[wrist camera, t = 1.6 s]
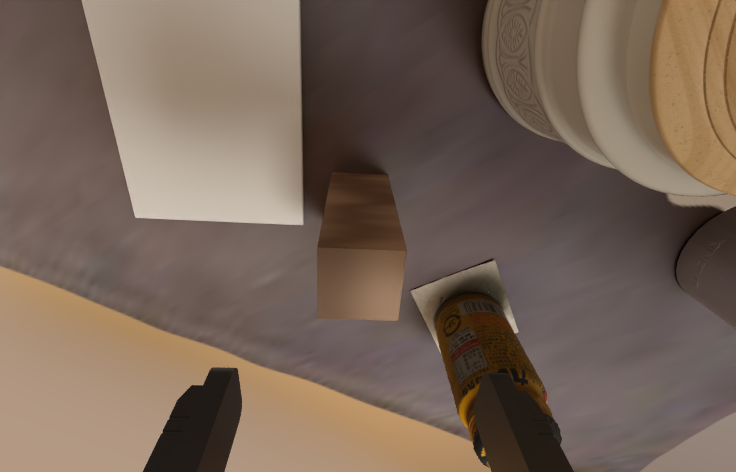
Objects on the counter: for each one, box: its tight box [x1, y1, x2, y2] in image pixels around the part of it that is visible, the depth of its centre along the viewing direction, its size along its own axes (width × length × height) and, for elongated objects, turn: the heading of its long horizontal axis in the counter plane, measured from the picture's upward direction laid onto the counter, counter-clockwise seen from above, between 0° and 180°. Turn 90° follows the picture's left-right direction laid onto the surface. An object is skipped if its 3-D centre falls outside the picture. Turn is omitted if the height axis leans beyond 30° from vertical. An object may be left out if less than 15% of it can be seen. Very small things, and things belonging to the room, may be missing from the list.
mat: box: [82, 0, 304, 225], centre depth 23 cm, size 12×16×1 cm
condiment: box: [411, 261, 562, 468], centre depth 27 cm, size 7×8×12 cm
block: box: [317, 172, 407, 321], centre depth 22 cm, size 4×4×11 cm
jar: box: [482, 0, 736, 196], centre depth 14 cm, size 13×13×18 cm
